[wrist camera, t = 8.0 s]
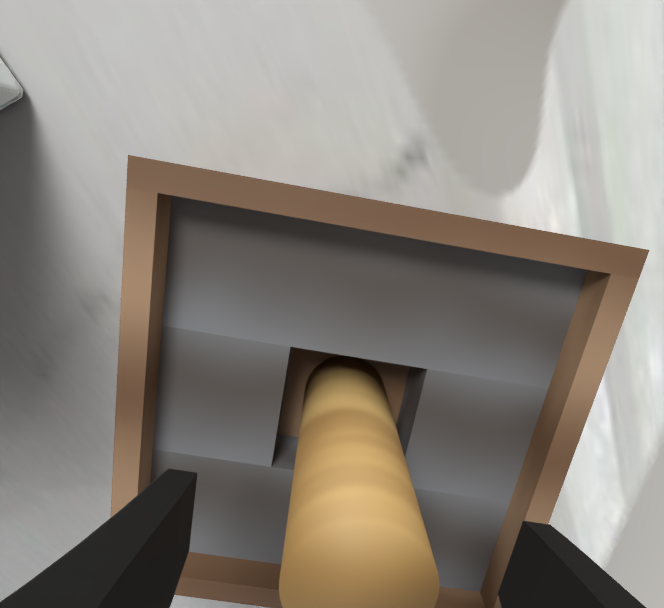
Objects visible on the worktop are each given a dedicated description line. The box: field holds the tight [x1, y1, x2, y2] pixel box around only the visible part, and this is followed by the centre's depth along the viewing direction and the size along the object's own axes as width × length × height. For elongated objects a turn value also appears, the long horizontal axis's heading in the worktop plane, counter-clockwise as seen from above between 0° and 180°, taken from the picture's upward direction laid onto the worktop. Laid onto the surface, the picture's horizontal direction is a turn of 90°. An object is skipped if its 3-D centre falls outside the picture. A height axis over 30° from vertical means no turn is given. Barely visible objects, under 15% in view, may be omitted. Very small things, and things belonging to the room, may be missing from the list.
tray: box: [111, 155, 649, 608], centre depth 14 cm, size 14×14×4 cm
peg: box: [279, 355, 439, 608], centre depth 12 cm, size 3×3×8 cm
